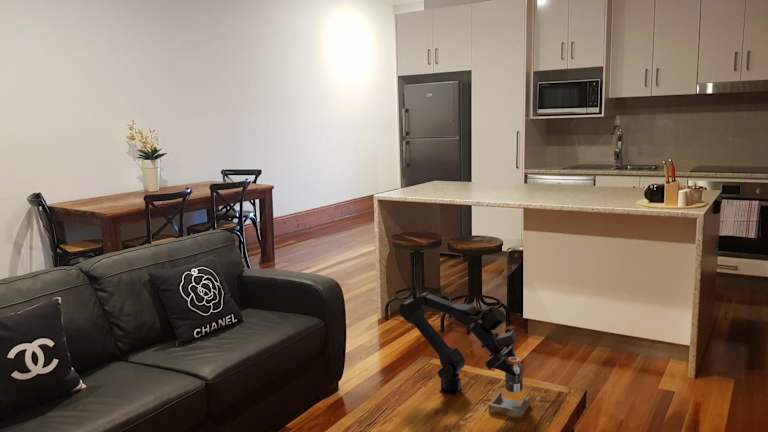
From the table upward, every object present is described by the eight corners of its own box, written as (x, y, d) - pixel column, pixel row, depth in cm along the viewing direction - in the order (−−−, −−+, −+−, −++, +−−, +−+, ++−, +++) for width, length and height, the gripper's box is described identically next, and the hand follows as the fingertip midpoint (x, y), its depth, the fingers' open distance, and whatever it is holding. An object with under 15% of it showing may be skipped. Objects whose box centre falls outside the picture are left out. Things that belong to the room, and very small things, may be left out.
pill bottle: (523, 393, 204) (523, 362, 202) (505, 392, 205) (505, 362, 203) (522, 385, 210) (521, 355, 207) (505, 384, 211) (504, 354, 208)
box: (488, 412, 203) (488, 404, 202) (499, 398, 212) (498, 390, 212) (520, 419, 197) (520, 410, 197) (529, 404, 207) (529, 396, 206)
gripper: (494, 332, 197) (527, 369, 193) (509, 315, 213) (540, 348, 210) (471, 351, 202) (503, 387, 198) (488, 332, 218) (518, 366, 215)
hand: (517, 371), depth 205 cm, fingers closed on pill bottle, 6 cm apart
